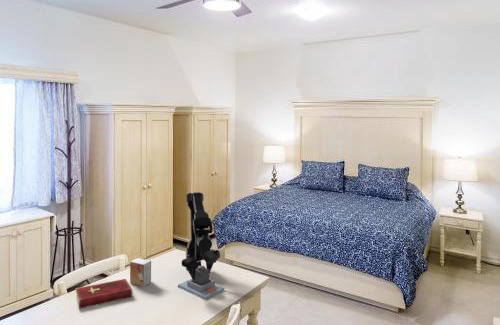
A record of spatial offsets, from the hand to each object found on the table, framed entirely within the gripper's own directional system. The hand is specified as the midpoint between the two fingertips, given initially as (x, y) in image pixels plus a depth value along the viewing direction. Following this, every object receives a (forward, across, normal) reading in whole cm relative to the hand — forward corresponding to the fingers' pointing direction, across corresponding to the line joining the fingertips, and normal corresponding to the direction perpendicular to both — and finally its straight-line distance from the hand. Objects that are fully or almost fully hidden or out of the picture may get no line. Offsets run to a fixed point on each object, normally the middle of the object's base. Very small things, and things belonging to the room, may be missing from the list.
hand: (201, 276), depth 169 cm
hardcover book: (+6, -33, +25) cm, 42 cm away
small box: (+6, -15, +25) cm, 30 cm away
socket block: (+6, 0, 0) cm, 6 cm away
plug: (+5, 0, 0) cm, 5 cm away
